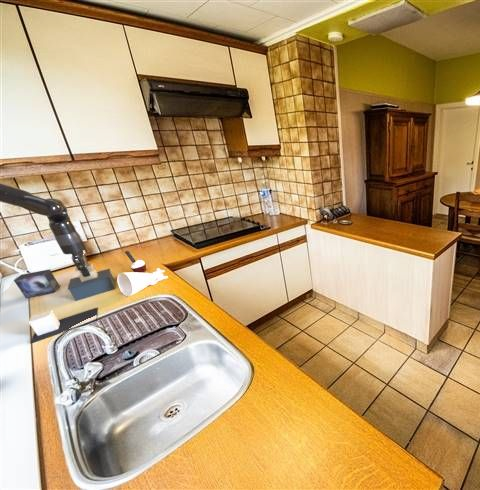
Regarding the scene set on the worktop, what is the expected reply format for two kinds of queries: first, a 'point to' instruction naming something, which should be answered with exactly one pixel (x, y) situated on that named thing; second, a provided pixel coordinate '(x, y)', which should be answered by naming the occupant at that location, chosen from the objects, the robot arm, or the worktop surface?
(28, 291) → the small box
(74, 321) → the rubber mat
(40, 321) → the white box
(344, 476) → the worktop surface
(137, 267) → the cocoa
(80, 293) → the storage box
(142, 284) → the rocket engine
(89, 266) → the cream box
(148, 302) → the worktop surface
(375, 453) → the worktop surface
